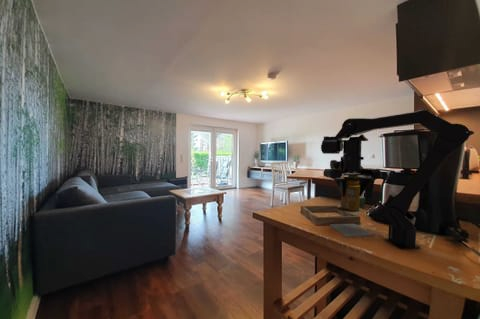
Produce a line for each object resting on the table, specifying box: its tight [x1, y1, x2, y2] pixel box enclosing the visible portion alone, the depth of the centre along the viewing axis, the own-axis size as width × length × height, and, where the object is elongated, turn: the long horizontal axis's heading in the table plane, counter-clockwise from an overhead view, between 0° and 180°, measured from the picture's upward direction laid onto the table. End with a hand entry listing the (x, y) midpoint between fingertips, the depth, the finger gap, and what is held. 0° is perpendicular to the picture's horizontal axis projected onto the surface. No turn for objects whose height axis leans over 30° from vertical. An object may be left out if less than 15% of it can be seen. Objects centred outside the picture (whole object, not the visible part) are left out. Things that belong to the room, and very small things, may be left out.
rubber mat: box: [329, 224, 374, 238], centre depth 74 cm, size 10×10×1 cm
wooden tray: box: [300, 204, 361, 226], centre depth 87 cm, size 16×18×3 cm
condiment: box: [335, 176, 364, 215], centre depth 73 cm, size 7×8×12 cm
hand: (351, 196), depth 73 cm, fingers closed on condiment, 6 cm apart
